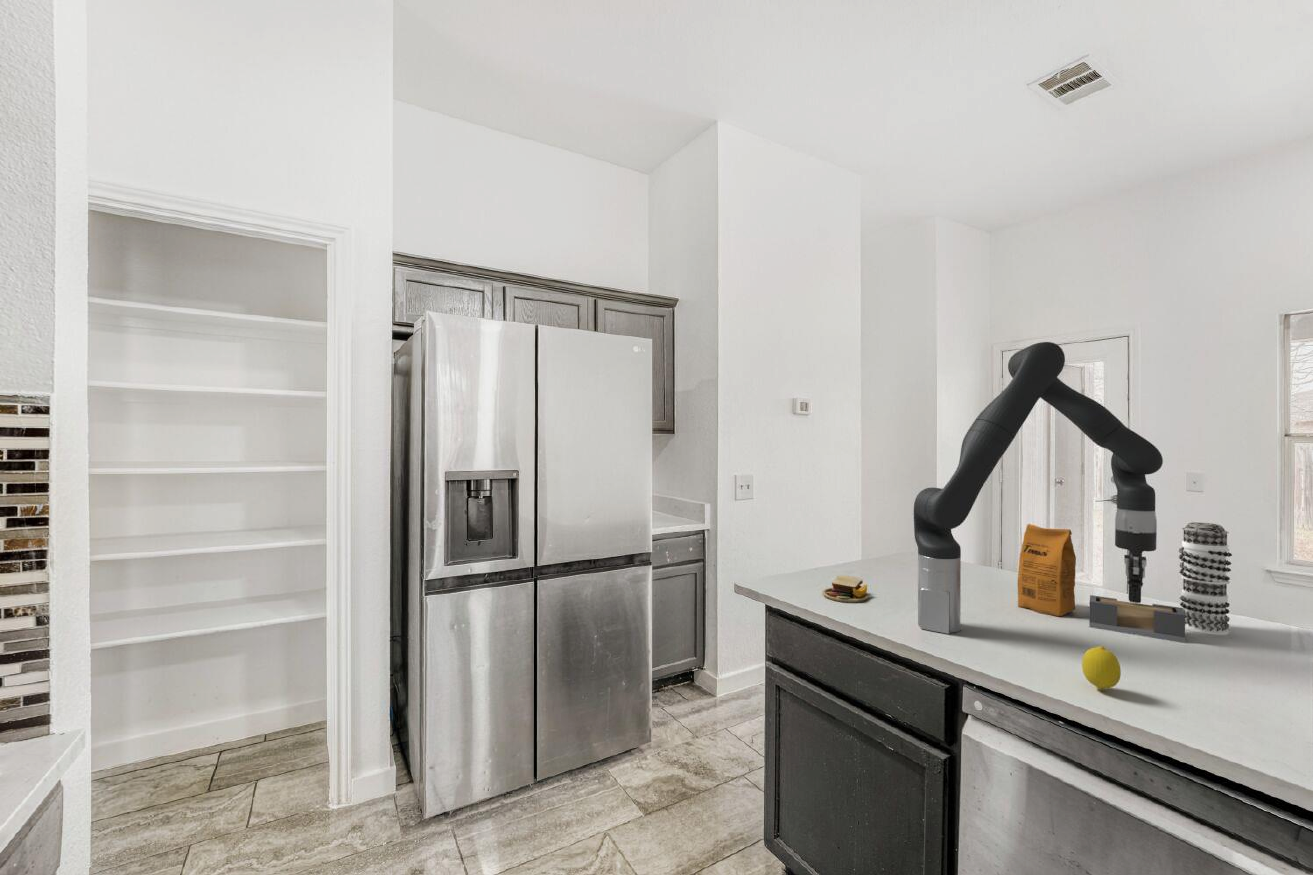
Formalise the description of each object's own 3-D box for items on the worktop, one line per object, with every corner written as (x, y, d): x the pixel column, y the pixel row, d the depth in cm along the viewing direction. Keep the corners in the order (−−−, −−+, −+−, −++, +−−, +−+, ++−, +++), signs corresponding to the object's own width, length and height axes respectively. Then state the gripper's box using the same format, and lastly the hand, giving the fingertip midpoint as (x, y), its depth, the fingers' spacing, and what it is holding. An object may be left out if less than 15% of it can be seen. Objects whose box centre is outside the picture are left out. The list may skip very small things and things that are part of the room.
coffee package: (1032, 600, 159) (1033, 521, 159) (1082, 613, 148) (1082, 528, 148) (1010, 605, 155) (1010, 524, 155) (1059, 618, 144) (1059, 531, 144)
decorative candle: (1230, 628, 137) (1231, 523, 136) (1232, 638, 130) (1233, 528, 130) (1178, 619, 143) (1179, 519, 143) (1177, 629, 136) (1178, 524, 136)
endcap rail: (1185, 642, 127) (1185, 615, 127) (1089, 626, 138) (1089, 601, 138) (1181, 632, 134) (1181, 607, 134) (1090, 618, 144) (1090, 594, 144)
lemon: (1074, 684, 107) (1074, 641, 107) (1102, 683, 107) (1102, 640, 107) (1099, 697, 101) (1100, 652, 101) (1128, 696, 102) (1129, 651, 102)
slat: (1172, 633, 131) (1172, 611, 131) (1100, 621, 139) (1100, 600, 139) (1171, 629, 133) (1171, 608, 133) (1100, 618, 141) (1100, 598, 141)
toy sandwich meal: (814, 597, 163) (814, 581, 163) (836, 588, 173) (836, 572, 173) (856, 607, 155) (856, 589, 155) (877, 596, 165) (877, 580, 165)
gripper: (1114, 523, 143) (1114, 593, 143) (1115, 530, 133) (1114, 605, 133) (1154, 526, 138) (1153, 598, 139) (1158, 534, 128) (1157, 611, 128)
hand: (1134, 601), depth 136 cm, fingers closed
